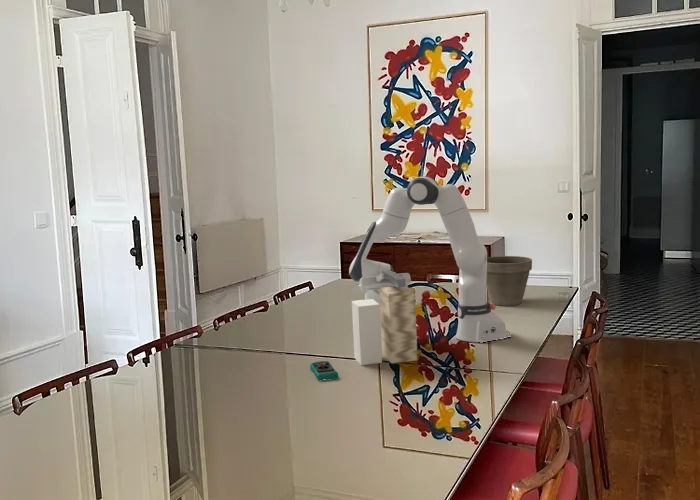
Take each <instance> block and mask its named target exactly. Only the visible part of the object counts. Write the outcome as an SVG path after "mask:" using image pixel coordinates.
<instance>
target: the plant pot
mask: <svg viewBox="0 0 700 500" xmlns="http://www.w3.org/2000/svg"><path fill="white" fill-rule="evenodd" d="M532 267H533V259H532V258H531V257H526V256H520V255H518V256H517V255H497V256H487V278H486V291H487V293H488V296H489V300H490V304H493V305H495V306H499V305H501V307H511V306H510V305H514V306H518V305H517V304H519V305H521V304H522V302H523V299H524V296H525V292H526V288H527V285H528V280H529V276H530V273H531V272H530V271H531V270H532ZM520 303H521V304H520Z"/></svg>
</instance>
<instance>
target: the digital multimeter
mask: <svg viewBox="0 0 700 500" xmlns="http://www.w3.org/2000/svg"><path fill="white" fill-rule="evenodd" d="M309 366H310V367H309V368H310V371H311V372H312V371H313V372H312V373H313V374H314V376H315V378H316V377H317V378H316V379H318V380H323V379H331V380H335V379H334V378H337V379H339V372H338V371H337V370H336V369H335V368H334V367H333V366H332V363H331V362H330V361H328V360H322V361H314V362H312V363H310V365H309ZM318 380H317V381H318ZM323 381H324V380H323Z"/></svg>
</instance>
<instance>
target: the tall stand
mask: <svg viewBox="0 0 700 500" xmlns="http://www.w3.org/2000/svg"><path fill="white" fill-rule="evenodd" d="M379 289H380V326H381V350H382V357H384V358H385V359H387V361H388V362H389V363H390V364H397V363H405V362H413V361H418V340H417V337H418V335H417V316H416V315H417V314H416V291H415V290H413V289H412V288H410V287H408V286H406V287H400V288H398V287H396V286H393V287H382V288H379Z"/></svg>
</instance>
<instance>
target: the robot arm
mask: <svg viewBox="0 0 700 500" xmlns="http://www.w3.org/2000/svg"><path fill="white" fill-rule="evenodd" d="M414 205H419V206H420V205H421V206H423V205H435V207H436V208H437V210H438V213H439V215H440V218H441V221H442V222H443V226H444V228H445V231H446V233H447V236H448V240H449V243H450V247H451V249H452V253H453V256H454V260H455V261H456V262H455V263H456V266H457V267H458V269H459V271H458V272H459V275H458V303H457V316H458V321H457V322H458V323H457V329H456V334H455V338H456V339H457V340H459V341H463V342H470V343H478V342H480V343H479V344H484V343H483V342H486V343H488V342H487V341H491V340H496V339H500V338H504V337H508V336H511V335H512V336H513V334H512V332H510V331H509V330H507V327H506V323H505V321H504V320H503V319H502V318H501V317H500V316H498V315H497V314H495V313H494V312H492V311H494V310H495V309H496V305H494V304H492V303H489V302H487V300H488V299H487V286H486V278H487V257H488V250H487V248H486V245H484V243H482V242H481V241H479V237H478V233H477V230H476V228H475V223H474V220H473V219H472V216H471V213H470V211H469V208H468V206H467V203H466V201H465V199H464V196H463V195H462V193H461V192H460V190H459V188H457V186H456V185H455V184H452V183H449V184H448V183H447V184H444V185H439V184H438V181H437V180H436V179H435V178H433V177H431V176H428V175H425V176H418V177H415V178H414V179H411V181H410V182H409V183H408V185H407V187H406V188H405V187H402V186H401V187H394V188H393V189H391V190H390V192H389V194H388V195H387V198H386V201H385V203H384V206H383V210H382V213H381V216H379V218H378V219H377V220H376V221H373V222H371V224H370V226H369V227H368V229H367V231H366V234H365V235H364V237H363V239H362V242H361V243H360V246H359V248H358V250H357V252H356V255H355V256H354V258H353V260H352V262H351V263H350V266H349V268H348V270H349V271H348V275H349V277H350V278H351V279H352V280H353V281H354V282H359V285H357V287H356V289H357V290H360V291H361V292H365V294H364V300H366V299H373V300H374V301H376V302H377V303H378V304H380V289H379V288H382V287H393V286H394V285H393V284H391V283H389V282H388V281H386V280H384V279H385V277H386V276H385V273H383V274H382V271H384V270H390V271H392V272H394V273H396V274H398V275H399V276H401V277H403V278H405V282H406V286H407V287H408V286H409V285H410V284H411V282H412V281H411V280H412V279H411V275H410V272H402V273H401V272H400V273H397V272H395V271H394V270H395V269H394V268H393V266H392V265H391V264H389V263H385V262H381V261H376V260H371V259H368V258H367V256H368V254H369V252H370V250H371V248H372V246H373V243H374V242H375V241H376V240H378V239H382V238H387V237H393V236H397V235H400V234H401V233H403V232H404V231H406V228H407V226H408V223H409V219H410V216H411V213H412V209H413V207H414ZM508 333H509V334H508ZM510 333H511V334H510ZM496 341H497V340H496ZM491 342H492V341H491Z"/></svg>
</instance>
